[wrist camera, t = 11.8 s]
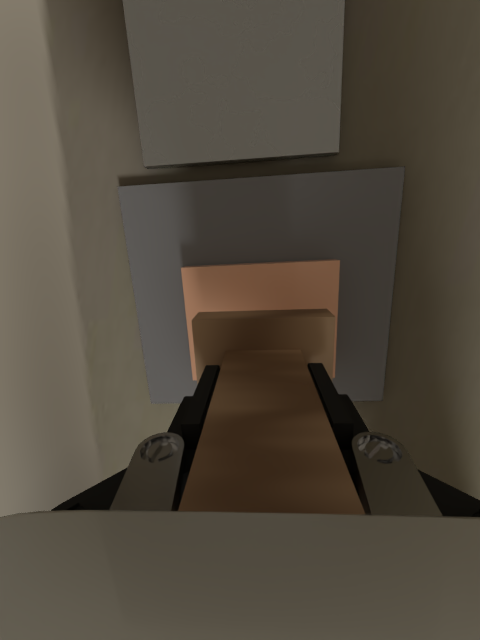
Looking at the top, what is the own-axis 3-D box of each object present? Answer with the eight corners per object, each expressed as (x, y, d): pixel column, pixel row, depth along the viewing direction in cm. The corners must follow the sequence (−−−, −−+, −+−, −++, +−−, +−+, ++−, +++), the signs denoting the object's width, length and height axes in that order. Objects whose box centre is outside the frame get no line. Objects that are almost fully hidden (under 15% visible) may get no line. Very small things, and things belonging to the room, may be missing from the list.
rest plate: (344, -60, 15) (347, -72, 14) (336, 154, 17) (338, 151, 17) (122, -31, 16) (117, -42, 15) (147, 168, 18) (144, 166, 18)
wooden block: (326, 308, 13) (573, 546, 3) (322, 421, 14) (470, 833, 4) (198, 312, 13) (13, 527, 3) (207, 421, 15) (102, 794, 5)
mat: (401, 168, 17) (405, 166, 17) (380, 398, 22) (382, 400, 21) (120, 187, 19) (117, 186, 18) (152, 400, 23) (151, 403, 22)
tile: (329, 369, 21) (333, 258, 19) (334, 377, 19) (340, 260, 17) (197, 371, 21) (186, 266, 19) (192, 380, 20) (180, 267, 18)
